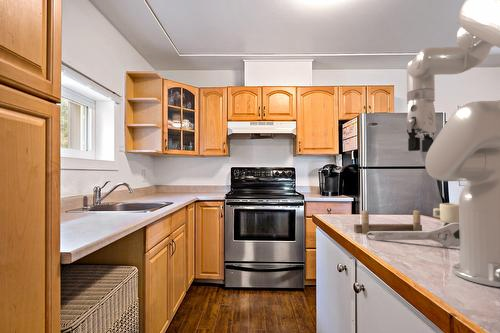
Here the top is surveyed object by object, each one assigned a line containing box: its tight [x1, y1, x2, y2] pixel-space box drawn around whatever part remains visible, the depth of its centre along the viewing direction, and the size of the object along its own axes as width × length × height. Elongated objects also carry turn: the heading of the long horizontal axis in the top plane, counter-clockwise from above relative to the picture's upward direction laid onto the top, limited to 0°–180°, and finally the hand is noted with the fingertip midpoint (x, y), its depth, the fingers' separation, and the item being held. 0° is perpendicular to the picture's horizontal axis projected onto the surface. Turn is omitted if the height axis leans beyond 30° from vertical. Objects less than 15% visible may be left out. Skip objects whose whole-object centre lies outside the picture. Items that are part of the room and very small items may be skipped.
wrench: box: [365, 223, 460, 249], centre depth 92 cm, size 8×2×30 cm
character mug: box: [432, 202, 460, 239], centre depth 95 cm, size 11×7×13 cm, turn 55°
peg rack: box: [353, 209, 423, 236], centre depth 109 cm, size 5×26×9 cm, turn 89°
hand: (421, 151), depth 87 cm, fingers open, 9 cm apart
